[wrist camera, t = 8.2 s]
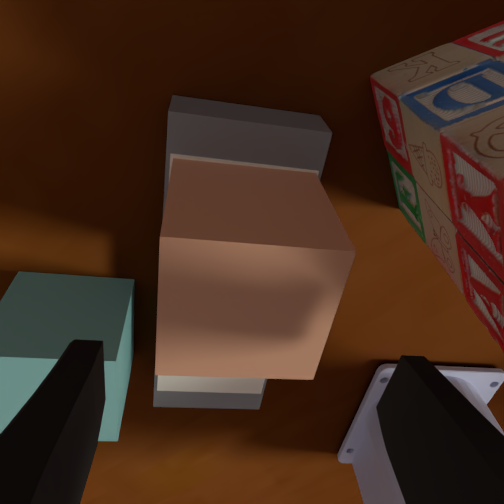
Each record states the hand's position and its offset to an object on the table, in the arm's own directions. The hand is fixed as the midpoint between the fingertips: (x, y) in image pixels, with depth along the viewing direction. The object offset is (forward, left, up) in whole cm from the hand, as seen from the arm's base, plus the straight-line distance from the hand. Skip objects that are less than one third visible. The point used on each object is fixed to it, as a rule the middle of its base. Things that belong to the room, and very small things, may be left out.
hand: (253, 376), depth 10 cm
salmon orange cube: (0, 0, -7) cm, 7 cm away
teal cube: (-7, +7, -9) cm, 13 cm away
